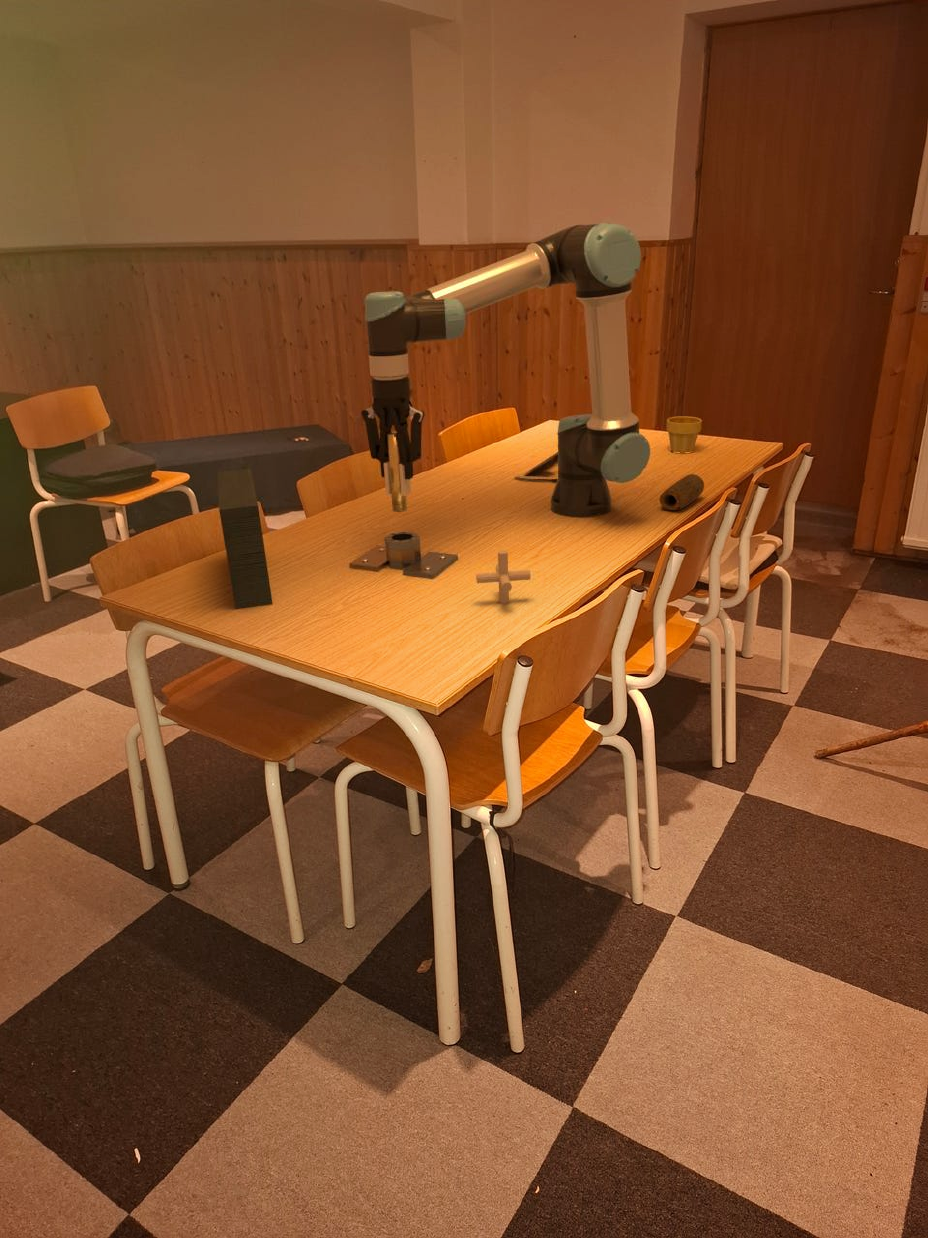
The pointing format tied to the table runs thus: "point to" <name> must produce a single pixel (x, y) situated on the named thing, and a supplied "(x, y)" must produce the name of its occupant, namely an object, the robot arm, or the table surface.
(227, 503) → the dark layered block
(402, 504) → the hinge pin
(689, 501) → the stone weight
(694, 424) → the plant pot
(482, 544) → the table surface
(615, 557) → the table surface
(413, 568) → the hinge
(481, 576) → the pipe connector
